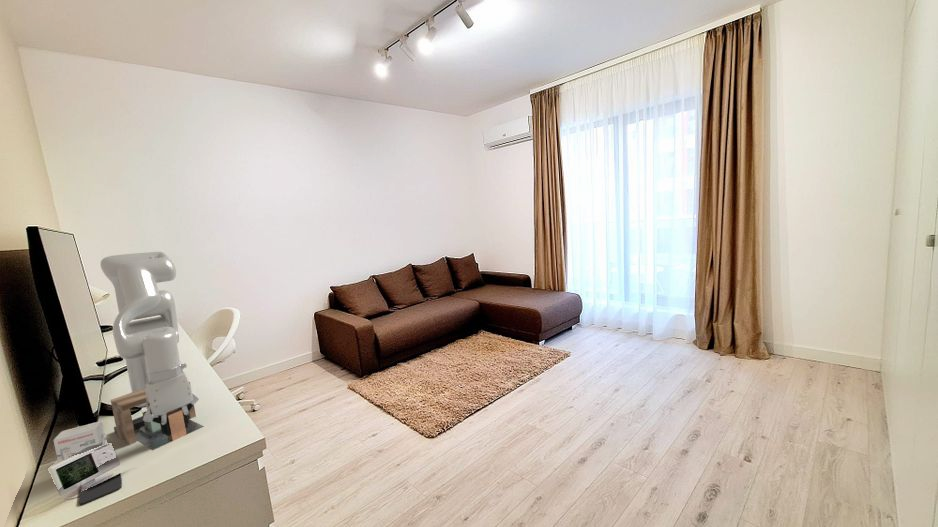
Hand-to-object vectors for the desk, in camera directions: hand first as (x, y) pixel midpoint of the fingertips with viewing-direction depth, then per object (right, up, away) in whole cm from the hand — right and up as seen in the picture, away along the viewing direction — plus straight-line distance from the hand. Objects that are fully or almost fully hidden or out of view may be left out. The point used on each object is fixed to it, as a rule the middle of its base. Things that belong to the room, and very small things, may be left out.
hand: (176, 430), depth 109 cm
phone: (-5, -6, -17) cm, 19 cm away
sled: (-6, -3, +4) cm, 8 cm away
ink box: (-16, -6, -11) cm, 20 cm away
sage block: (-10, -2, +6) cm, 12 cm away
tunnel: (-12, -3, +7) cm, 14 cm away
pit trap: (-18, -3, +11) cm, 22 cm away
